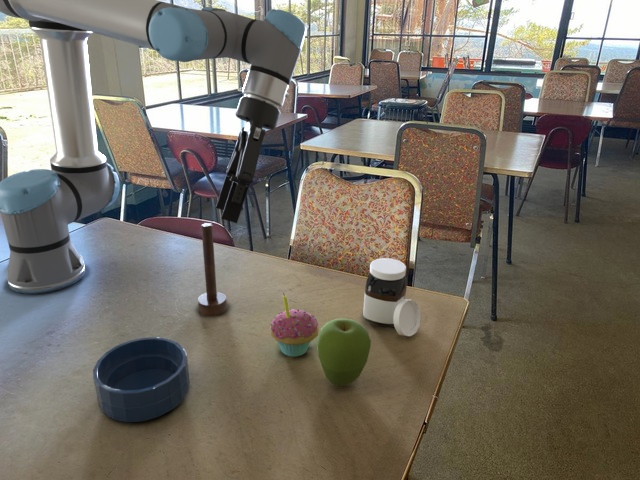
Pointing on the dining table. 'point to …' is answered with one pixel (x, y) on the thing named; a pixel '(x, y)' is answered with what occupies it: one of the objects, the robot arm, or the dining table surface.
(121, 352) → the bowl
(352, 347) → the apple
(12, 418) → the dining table surface
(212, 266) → the wooden peg stand
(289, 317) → the cupcake
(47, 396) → the dining table surface
